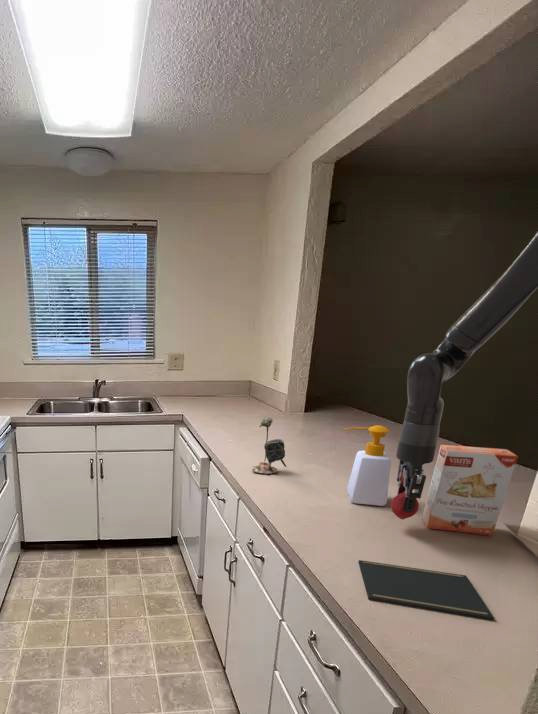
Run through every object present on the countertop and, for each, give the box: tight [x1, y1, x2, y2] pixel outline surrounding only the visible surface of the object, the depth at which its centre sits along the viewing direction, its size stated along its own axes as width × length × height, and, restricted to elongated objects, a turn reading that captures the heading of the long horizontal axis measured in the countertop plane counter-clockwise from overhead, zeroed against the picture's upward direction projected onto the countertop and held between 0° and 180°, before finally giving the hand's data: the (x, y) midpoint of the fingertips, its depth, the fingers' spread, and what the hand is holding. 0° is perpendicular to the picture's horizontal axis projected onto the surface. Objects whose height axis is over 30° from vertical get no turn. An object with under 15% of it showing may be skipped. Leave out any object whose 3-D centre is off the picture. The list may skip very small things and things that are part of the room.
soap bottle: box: [342, 424, 392, 507], centre depth 124 cm, size 10×14×22 cm
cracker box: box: [421, 444, 519, 537], centre depth 106 cm, size 14×6×21 cm, turn 72°
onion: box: [390, 491, 420, 520], centre depth 107 cm, size 6×6×8 cm
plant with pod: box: [252, 415, 287, 475], centre depth 147 cm, size 8×11×20 cm
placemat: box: [358, 559, 495, 621], centre depth 86 cm, size 20×14×1 cm
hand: (404, 505), depth 107 cm, fingers closed on onion, 6 cm apart
